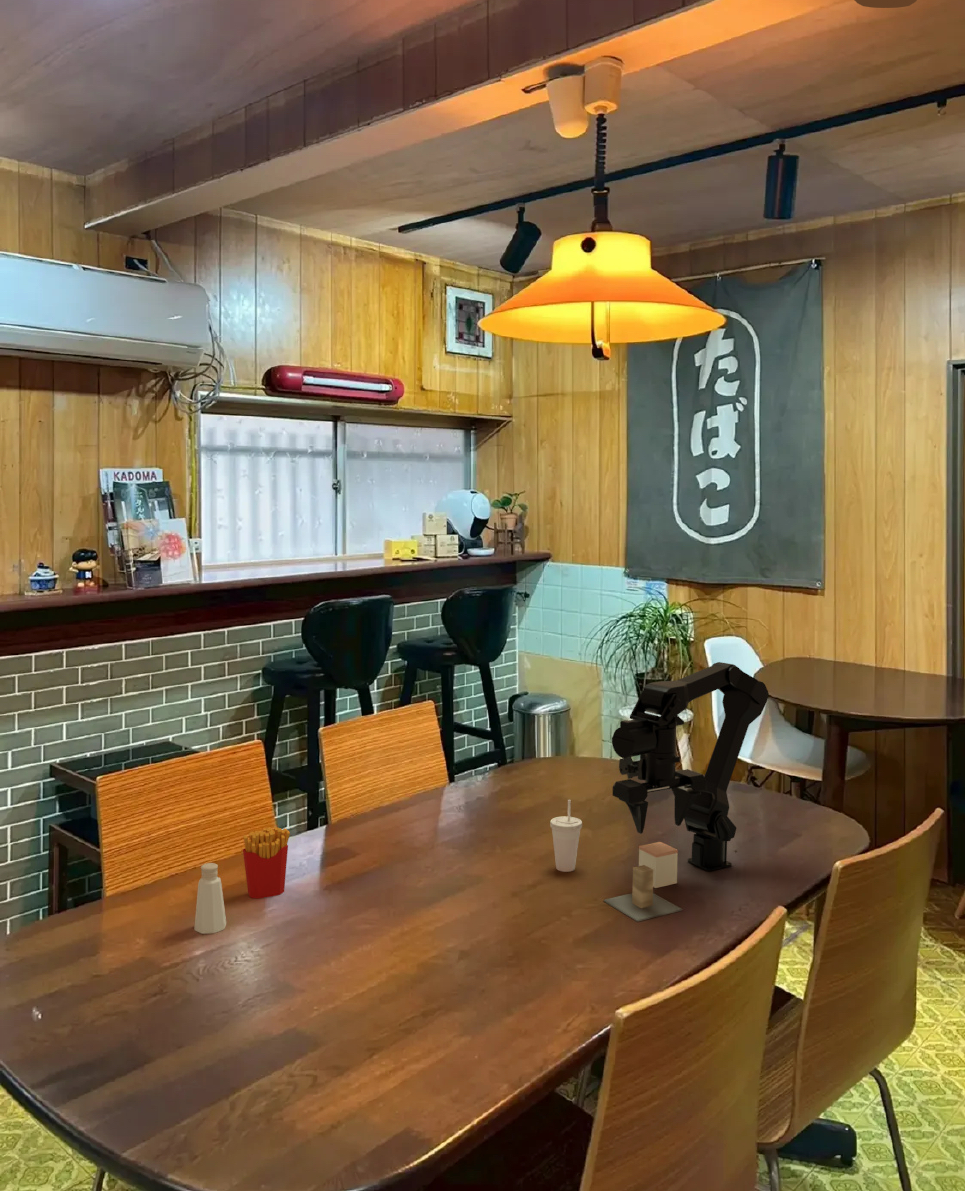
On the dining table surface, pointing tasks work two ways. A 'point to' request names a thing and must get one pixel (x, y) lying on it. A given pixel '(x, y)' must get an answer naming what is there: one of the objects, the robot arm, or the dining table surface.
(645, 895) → the grey flat square slab
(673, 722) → the robot arm
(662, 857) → the cream orange-topped box
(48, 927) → the dining table surface
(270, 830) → the french fries
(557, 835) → the smoothie
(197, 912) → the pepper shaker
